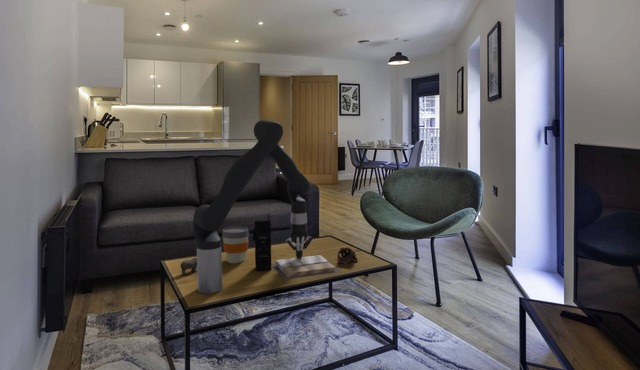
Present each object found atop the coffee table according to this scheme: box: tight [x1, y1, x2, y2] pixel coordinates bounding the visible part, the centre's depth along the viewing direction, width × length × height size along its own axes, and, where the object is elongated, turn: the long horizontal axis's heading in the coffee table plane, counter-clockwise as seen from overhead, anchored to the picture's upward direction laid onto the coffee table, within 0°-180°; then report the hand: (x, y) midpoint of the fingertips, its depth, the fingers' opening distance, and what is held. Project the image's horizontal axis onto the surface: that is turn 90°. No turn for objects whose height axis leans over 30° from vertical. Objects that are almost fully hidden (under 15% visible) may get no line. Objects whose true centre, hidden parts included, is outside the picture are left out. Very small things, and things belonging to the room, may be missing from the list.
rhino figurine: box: [180, 257, 197, 277], centre depth 190 cm, size 4×14×6 cm, turn 147°
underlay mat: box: [271, 263, 342, 281], centre depth 194 cm, size 26×22×1 cm
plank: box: [275, 254, 329, 271], centre depth 197 cm, size 22×9×2 cm, turn 112°
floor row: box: [283, 262, 336, 277], centre depth 189 cm, size 22×7×2 cm, turn 112°
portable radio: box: [252, 213, 272, 272], centre depth 191 cm, size 8×6×25 cm
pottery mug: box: [337, 247, 358, 265], centre depth 203 cm, size 12×10×8 cm
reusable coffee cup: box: [221, 226, 250, 264], centre depth 205 cm, size 13×13×15 cm
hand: (299, 257), depth 201 cm, fingers closed
